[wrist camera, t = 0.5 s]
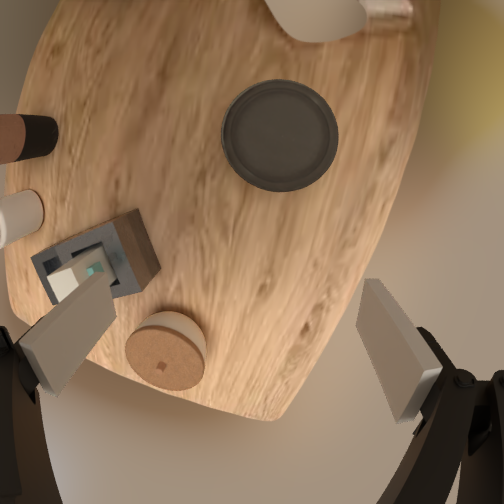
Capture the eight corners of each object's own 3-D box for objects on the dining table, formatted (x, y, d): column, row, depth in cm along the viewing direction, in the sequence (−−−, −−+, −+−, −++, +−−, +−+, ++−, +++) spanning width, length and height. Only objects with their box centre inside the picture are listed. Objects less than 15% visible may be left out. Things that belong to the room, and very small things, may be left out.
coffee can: (314, 107, 34) (339, 84, 21) (311, 180, 38) (335, 195, 24) (237, 103, 34) (222, 78, 21) (235, 176, 38) (219, 190, 25)
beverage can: (44, 188, 39) (-3, 203, 28) (47, 232, 42) (4, 254, 31) (18, 189, 39) (-25, 203, 28) (22, 229, 42) (-19, 249, 31)
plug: (89, 247, 38) (46, 276, 28) (118, 236, 37) (76, 265, 27) (102, 276, 40) (64, 311, 29) (131, 267, 39) (94, 304, 29)
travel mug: (31, 159, 37) (-52, 177, 18) (33, 119, 35) (-51, 123, 16) (59, 155, 37) (-32, 171, 18) (61, 111, 34) (-30, 109, 16)
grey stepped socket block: (43, 249, 43) (17, 265, 36) (137, 208, 40) (112, 221, 32) (63, 295, 46) (41, 315, 39) (161, 268, 43) (142, 291, 36)
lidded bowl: (134, 331, 48) (110, 370, 38) (162, 284, 44) (136, 321, 34) (191, 366, 50) (178, 409, 40) (227, 325, 46) (217, 370, 36)
